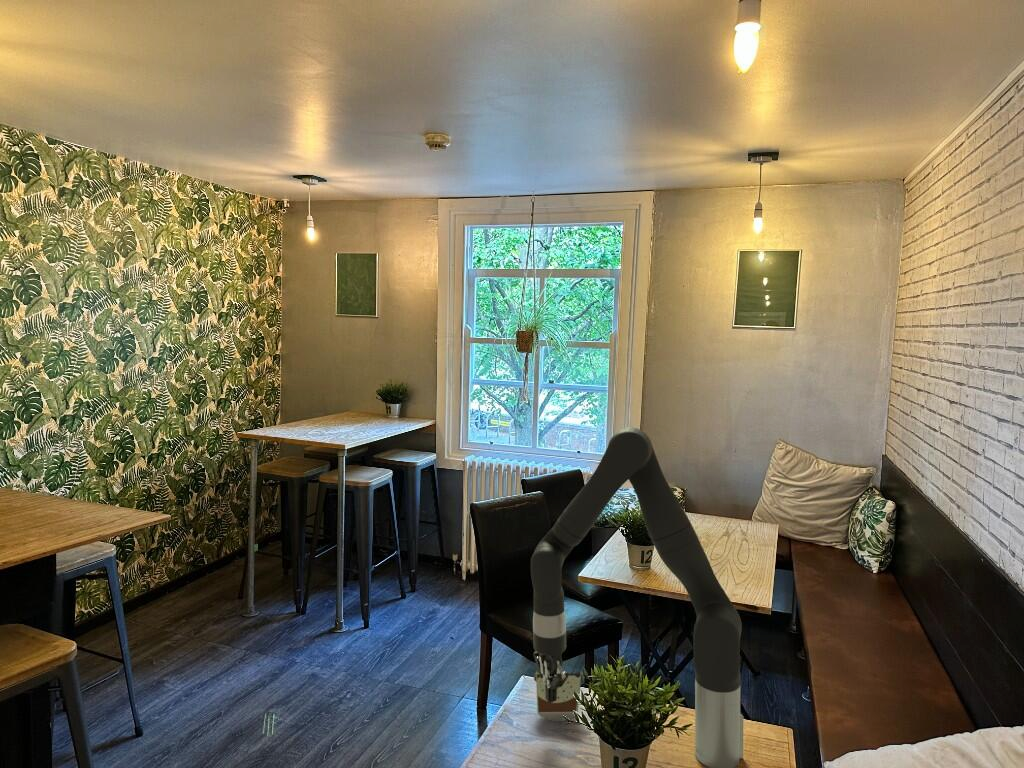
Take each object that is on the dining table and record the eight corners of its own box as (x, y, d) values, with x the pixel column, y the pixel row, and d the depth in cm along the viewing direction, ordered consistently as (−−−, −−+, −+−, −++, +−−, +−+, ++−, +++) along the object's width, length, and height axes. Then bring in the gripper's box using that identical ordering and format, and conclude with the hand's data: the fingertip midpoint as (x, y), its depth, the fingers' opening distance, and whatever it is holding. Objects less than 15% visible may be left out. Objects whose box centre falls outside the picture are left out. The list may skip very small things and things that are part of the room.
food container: (588, 723, 154) (588, 680, 162) (583, 712, 150) (583, 669, 158) (537, 723, 157) (540, 681, 165) (531, 713, 153) (534, 670, 161)
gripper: (578, 637, 146) (580, 710, 147) (549, 613, 157) (551, 682, 159) (549, 645, 142) (550, 720, 144) (521, 620, 154) (523, 690, 156)
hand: (551, 700), depth 152 cm, fingers closed
